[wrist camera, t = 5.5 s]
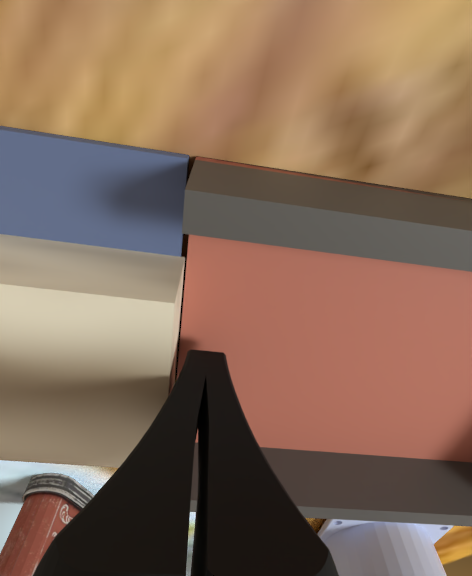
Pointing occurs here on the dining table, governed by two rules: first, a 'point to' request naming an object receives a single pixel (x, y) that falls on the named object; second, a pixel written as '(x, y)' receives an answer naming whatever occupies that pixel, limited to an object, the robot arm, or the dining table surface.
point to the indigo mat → (91, 192)
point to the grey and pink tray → (339, 335)
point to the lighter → (41, 521)
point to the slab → (84, 348)
